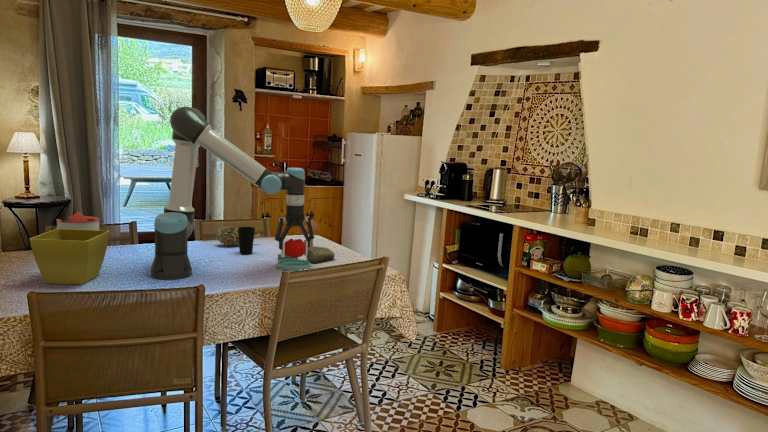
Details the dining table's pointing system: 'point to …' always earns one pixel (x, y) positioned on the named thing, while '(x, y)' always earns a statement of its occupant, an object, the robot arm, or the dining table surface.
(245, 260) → the dining table surface
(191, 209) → the robot arm
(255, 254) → the dining table surface
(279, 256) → the rail
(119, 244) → the dining table surface
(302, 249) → the tomato
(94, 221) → the citrus juicer
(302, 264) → the dish
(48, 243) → the flower pot
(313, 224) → the mushroom
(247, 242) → the cup
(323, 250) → the stone
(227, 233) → the pine cone
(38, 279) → the dining table surface
